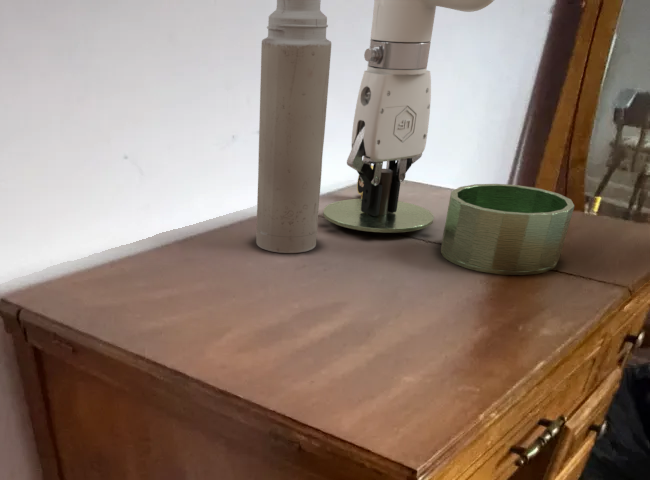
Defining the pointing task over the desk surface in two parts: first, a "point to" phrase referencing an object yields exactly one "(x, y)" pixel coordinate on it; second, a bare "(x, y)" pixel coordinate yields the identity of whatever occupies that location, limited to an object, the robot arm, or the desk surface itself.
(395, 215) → the lid
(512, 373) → the desk surface
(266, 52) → the thermos bottle
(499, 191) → the tin
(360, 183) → the eyeshadow
